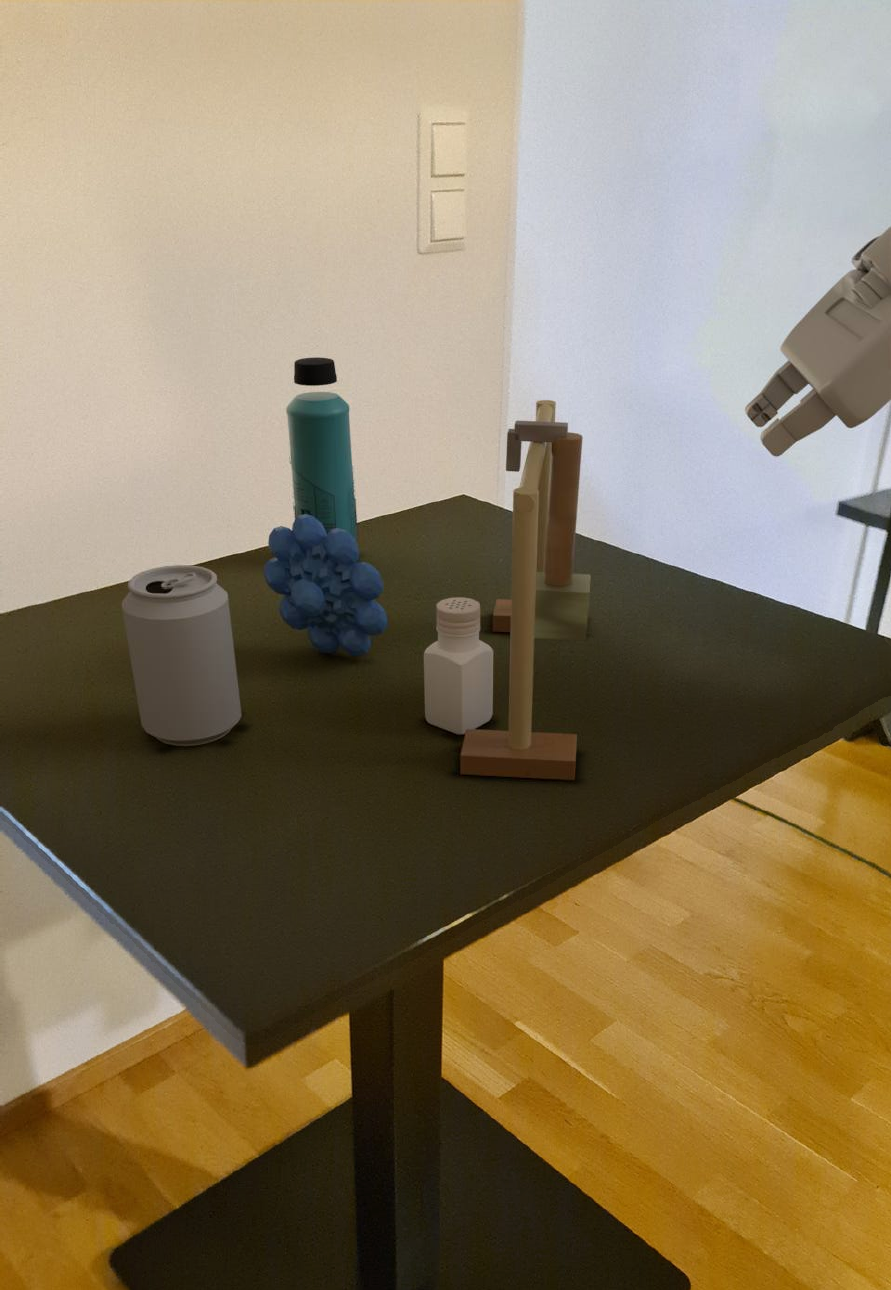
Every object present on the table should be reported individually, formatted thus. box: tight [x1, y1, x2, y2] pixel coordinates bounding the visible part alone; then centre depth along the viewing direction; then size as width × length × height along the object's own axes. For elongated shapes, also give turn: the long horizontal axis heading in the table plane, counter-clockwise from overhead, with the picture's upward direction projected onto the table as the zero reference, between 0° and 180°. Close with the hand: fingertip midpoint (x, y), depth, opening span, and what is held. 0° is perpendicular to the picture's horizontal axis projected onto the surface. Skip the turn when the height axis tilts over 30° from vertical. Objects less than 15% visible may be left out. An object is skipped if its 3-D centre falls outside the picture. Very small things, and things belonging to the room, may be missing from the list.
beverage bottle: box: [285, 356, 359, 542], centre depth 114 cm, size 6×7×20 cm
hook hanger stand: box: [505, 420, 591, 642], centre depth 85 cm, size 7×4×16 cm, turn 83°
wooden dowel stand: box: [459, 399, 578, 781], centre depth 87 cm, size 8×30×20 cm, turn 173°
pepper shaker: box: [423, 596, 494, 735], centre depth 84 cm, size 4×4×10 cm
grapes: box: [263, 514, 388, 657], centre depth 94 cm, size 12×7×12 cm, turn 64°
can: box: [121, 564, 243, 747], centre depth 83 cm, size 8×8×12 cm
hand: (758, 433), depth 83 cm, fingers open, 8 cm apart
